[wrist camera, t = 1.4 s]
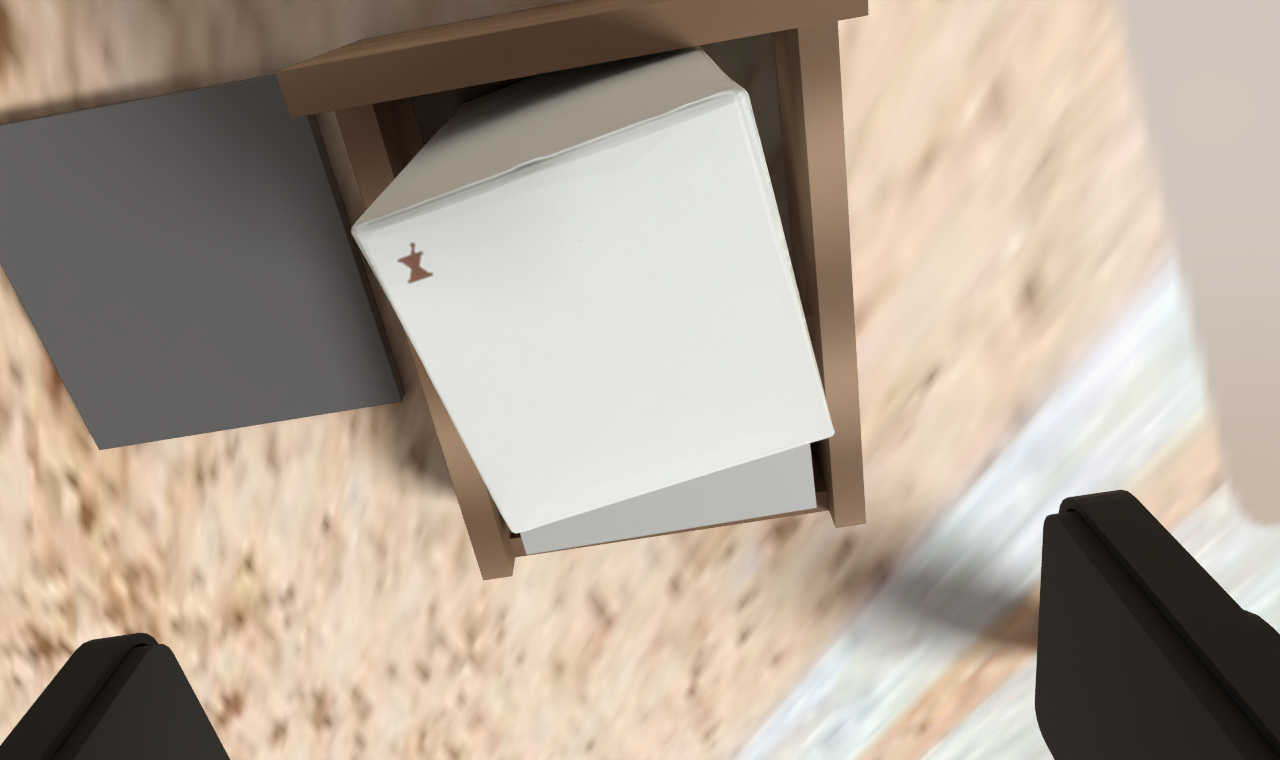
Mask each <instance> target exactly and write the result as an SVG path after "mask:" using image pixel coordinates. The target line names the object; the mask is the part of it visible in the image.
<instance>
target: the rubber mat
mask: <svg viewBox="0 0 1280 760" xmlns="http://www.w3.org/2000/svg"><path fill="white" fill-rule="evenodd" d="M0 263H1V265H2V267H3V269H4V271H5V273H6V275H7V276H8V278H9V280H10V282H11V284H12V286H13V288H14V290H15V292H16V293H17V295H18V297H19V299H20V301H21V303H22V305H23V307H24V309H25V310H26V312H27V314H28V316H29V318H30V320H31V322H32V324H33V326H34V327H35V329H36V331H37V333H38V335H39V337H40V339H41V341H42V343H43V344H44V346H45V348H46V350H47V352H48V354H49V356H50V358H51V360H52V361H53V363H54V365H55V367H56V369H57V371H58V373H59V375H60V377H61V378H62V380H63V382H64V384H65V386H66V388H67V390H68V392H69V394H70V396H71V397H72V399H73V401H74V403H75V405H76V407H77V409H78V411H79V413H80V414H81V416H82V418H83V420H84V422H85V424H86V426H87V428H88V430H89V431H90V433H91V435H92V437H93V439H94V441H95V443H96V445H97V447H98V448H99V450H103V449H109V448H116V447H122V446H128V445H134V444H141V443H147V442H153V441H159V440H166V439H172V438H178V437H184V436H190V435H197V434H203V433H209V432H215V431H222V430H228V429H234V428H240V427H247V426H253V425H259V424H265V423H272V422H278V421H284V420H290V419H297V418H303V417H309V416H315V415H321V414H328V413H334V412H340V411H346V410H353V409H359V408H365V407H371V406H378V405H384V404H390V403H396V402H402V400H403V398H404V395H405V391H404V388H403V385H402V382H401V379H400V376H399V373H398V370H397V367H396V364H395V361H394V357H393V354H392V351H391V348H390V345H389V342H388V339H387V336H386V333H385V330H384V327H383V324H382V321H381V318H380V315H379V312H378V309H377V306H376V303H375V300H374V296H373V293H372V290H371V287H370V284H369V281H368V278H367V275H366V272H365V269H364V266H363V263H362V260H361V257H360V254H359V251H358V248H357V245H356V242H355V239H354V237H353V235H352V233H351V226H350V223H349V220H348V217H347V214H346V211H345V208H344V205H343V202H342V199H341V196H340V193H339V190H338V187H337V184H336V181H335V178H334V174H333V171H332V168H331V165H330V162H329V159H328V156H327V153H326V150H325V147H324V144H323V141H322V138H321V135H320V132H319V129H318V126H317V123H316V120H315V117H314V114H313V115H307V116H301V117H296V118H291V117H290V114H289V111H288V108H287V105H286V102H285V99H284V96H283V93H282V90H281V87H280V84H279V81H278V78H277V75H276V74H275V75H269V76H264V77H258V78H253V79H247V80H242V81H236V82H231V83H225V84H220V85H214V86H209V87H203V88H198V89H192V90H187V91H181V92H176V93H170V94H165V95H159V96H154V97H148V98H143V99H137V100H132V101H126V102H121V103H115V104H110V105H104V106H99V107H93V108H88V109H82V110H77V111H71V112H66V113H60V114H55V115H49V116H44V117H38V118H33V119H27V120H22V121H16V122H11V123H5V124H0Z"/></svg>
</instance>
